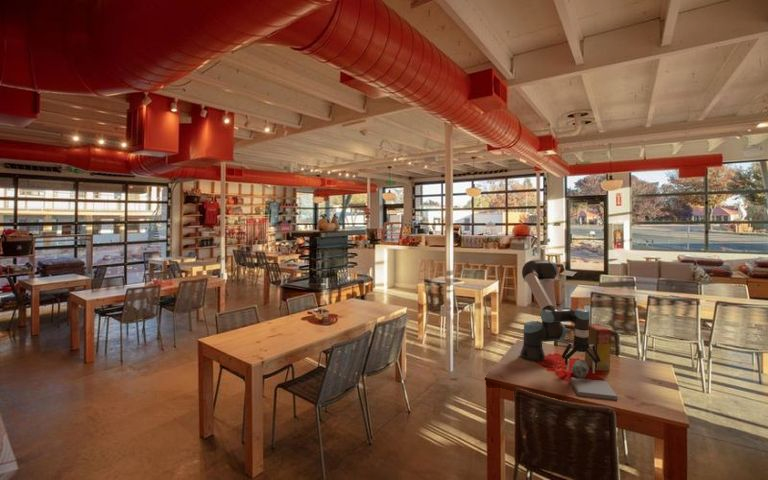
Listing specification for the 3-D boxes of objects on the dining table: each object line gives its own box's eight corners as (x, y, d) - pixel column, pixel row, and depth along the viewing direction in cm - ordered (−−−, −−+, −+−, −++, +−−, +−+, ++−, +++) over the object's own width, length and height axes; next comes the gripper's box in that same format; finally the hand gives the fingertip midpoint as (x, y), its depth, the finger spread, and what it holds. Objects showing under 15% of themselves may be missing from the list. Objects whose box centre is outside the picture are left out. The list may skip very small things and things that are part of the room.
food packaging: (610, 370, 225) (612, 330, 223) (595, 370, 225) (596, 330, 224) (598, 362, 238) (599, 323, 237) (583, 362, 238) (584, 323, 237)
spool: (589, 376, 209) (582, 358, 213) (572, 380, 214) (565, 362, 218) (595, 375, 219) (588, 357, 223) (579, 378, 224) (572, 361, 228)
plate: (578, 395, 194) (578, 391, 194) (570, 380, 211) (570, 377, 211) (617, 399, 189) (617, 396, 189) (606, 384, 206) (606, 381, 206)
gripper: (559, 336, 217) (558, 371, 218) (607, 339, 210) (606, 376, 212) (557, 332, 224) (556, 366, 226) (603, 335, 218) (602, 371, 219)
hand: (580, 371), depth 219 cm, fingers open, 13 cm apart
